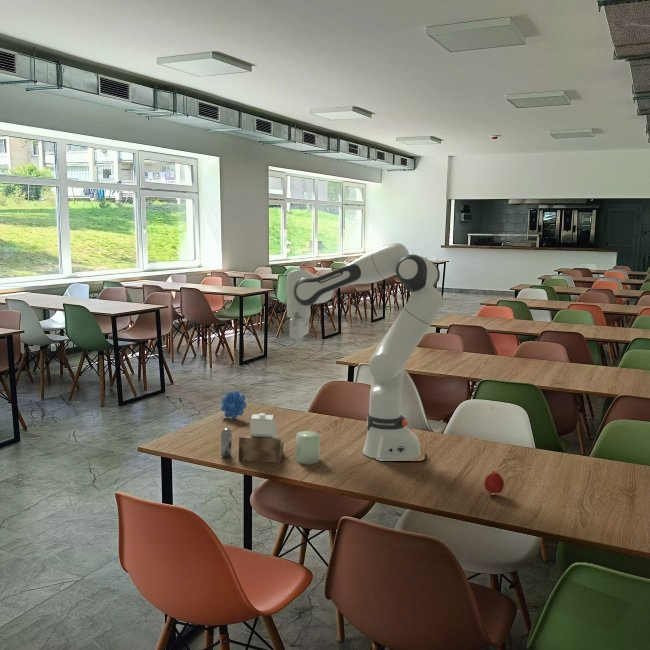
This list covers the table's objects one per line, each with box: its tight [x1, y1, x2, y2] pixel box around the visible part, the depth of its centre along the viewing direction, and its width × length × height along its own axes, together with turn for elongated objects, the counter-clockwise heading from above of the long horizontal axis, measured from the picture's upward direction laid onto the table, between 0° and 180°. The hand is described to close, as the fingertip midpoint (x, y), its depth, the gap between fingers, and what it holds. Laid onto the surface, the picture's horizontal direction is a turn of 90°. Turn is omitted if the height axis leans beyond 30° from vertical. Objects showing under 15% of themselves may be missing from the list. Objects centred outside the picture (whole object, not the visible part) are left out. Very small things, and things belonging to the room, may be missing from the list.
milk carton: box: [249, 412, 278, 438], centre depth 222 cm, size 7×7×19 cm
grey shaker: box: [220, 427, 233, 459], centre depth 221 cm, size 4×4×10 cm
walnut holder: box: [238, 435, 285, 463], centre depth 221 cm, size 14×9×8 cm, turn 86°
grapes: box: [220, 390, 248, 420], centre depth 264 cm, size 12×7×12 cm, turn 69°
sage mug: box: [295, 430, 321, 465], centre depth 221 cm, size 8×11×9 cm
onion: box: [483, 470, 505, 494], centre depth 196 cm, size 6×6×8 cm
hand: (299, 348), depth 245 cm, fingers closed
